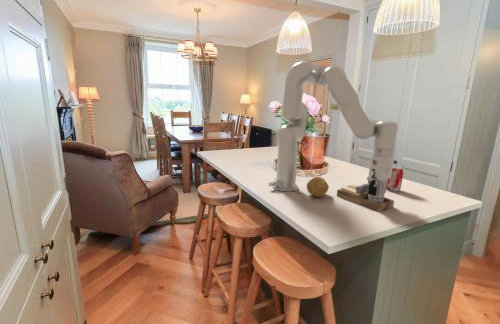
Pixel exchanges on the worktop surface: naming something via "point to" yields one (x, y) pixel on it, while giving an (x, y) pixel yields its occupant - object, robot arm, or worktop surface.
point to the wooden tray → (366, 201)
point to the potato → (317, 186)
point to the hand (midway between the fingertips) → (376, 193)
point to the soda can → (395, 179)
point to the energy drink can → (378, 192)
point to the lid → (357, 189)
